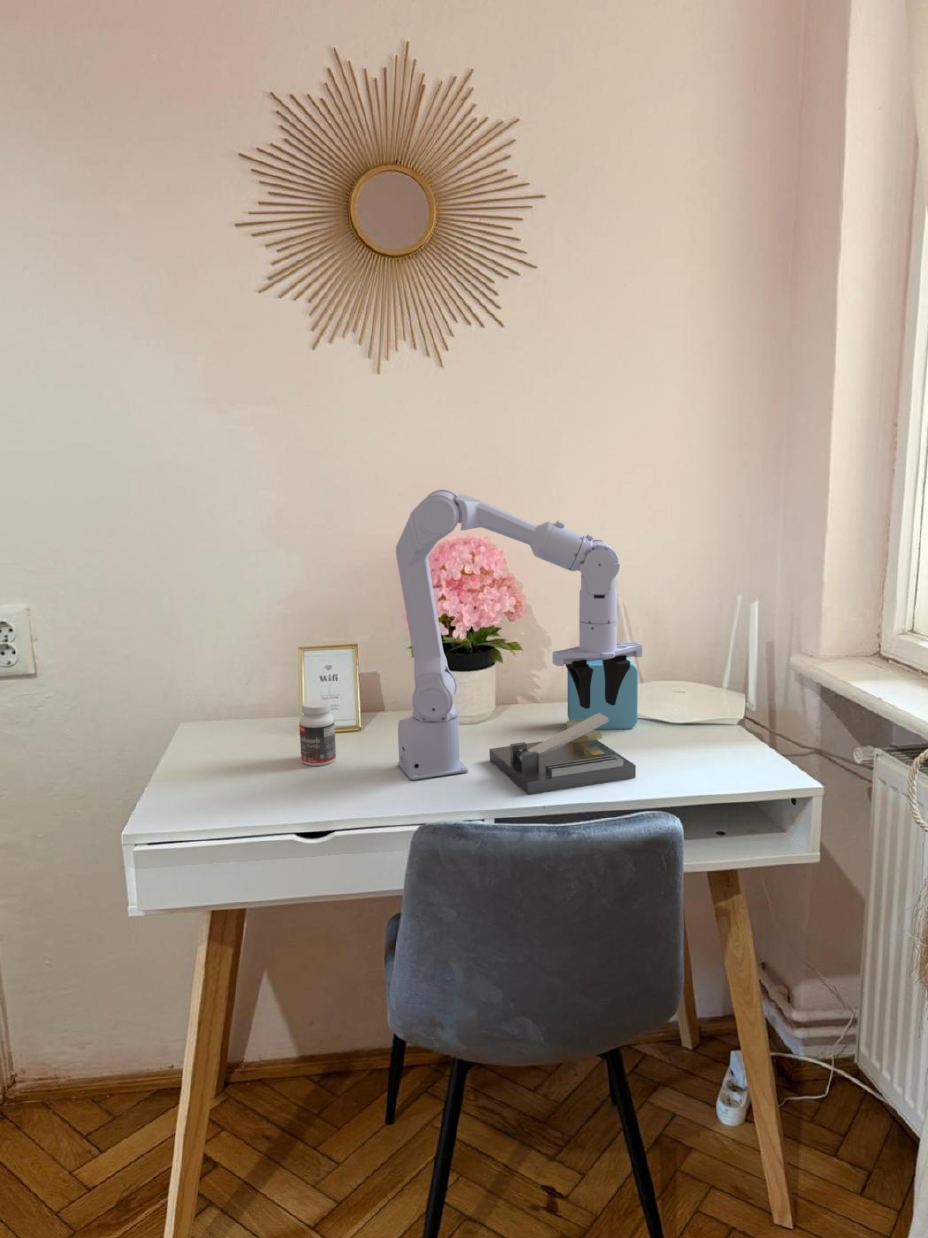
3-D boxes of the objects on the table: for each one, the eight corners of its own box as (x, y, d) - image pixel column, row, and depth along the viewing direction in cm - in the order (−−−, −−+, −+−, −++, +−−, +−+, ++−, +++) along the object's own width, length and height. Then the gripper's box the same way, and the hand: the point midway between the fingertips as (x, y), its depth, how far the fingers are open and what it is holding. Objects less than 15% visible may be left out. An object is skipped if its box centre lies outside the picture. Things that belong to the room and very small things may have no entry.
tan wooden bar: (525, 767, 153) (522, 759, 153) (518, 761, 156) (515, 753, 155) (609, 723, 157) (607, 715, 156) (601, 718, 159) (598, 710, 159)
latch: (586, 753, 160) (586, 734, 159) (566, 739, 167) (566, 721, 166) (603, 750, 161) (603, 731, 160) (583, 737, 168) (583, 718, 167)
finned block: (527, 794, 149) (527, 763, 148) (489, 760, 164) (489, 731, 163) (635, 777, 155) (635, 746, 154) (589, 746, 169) (589, 717, 168)
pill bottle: (294, 764, 164) (290, 705, 162) (315, 753, 169) (311, 696, 167) (323, 769, 162) (319, 710, 160) (343, 758, 167) (340, 700, 165)
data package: (633, 721, 182) (634, 657, 180) (637, 729, 178) (638, 663, 175) (567, 722, 182) (567, 658, 180) (569, 730, 178) (569, 665, 175)
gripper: (566, 629, 148) (566, 718, 151) (652, 620, 153) (651, 706, 156) (546, 620, 155) (547, 705, 157) (630, 612, 159) (629, 694, 162)
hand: (597, 705), depth 157 cm, fingers open, 4 cm apart
